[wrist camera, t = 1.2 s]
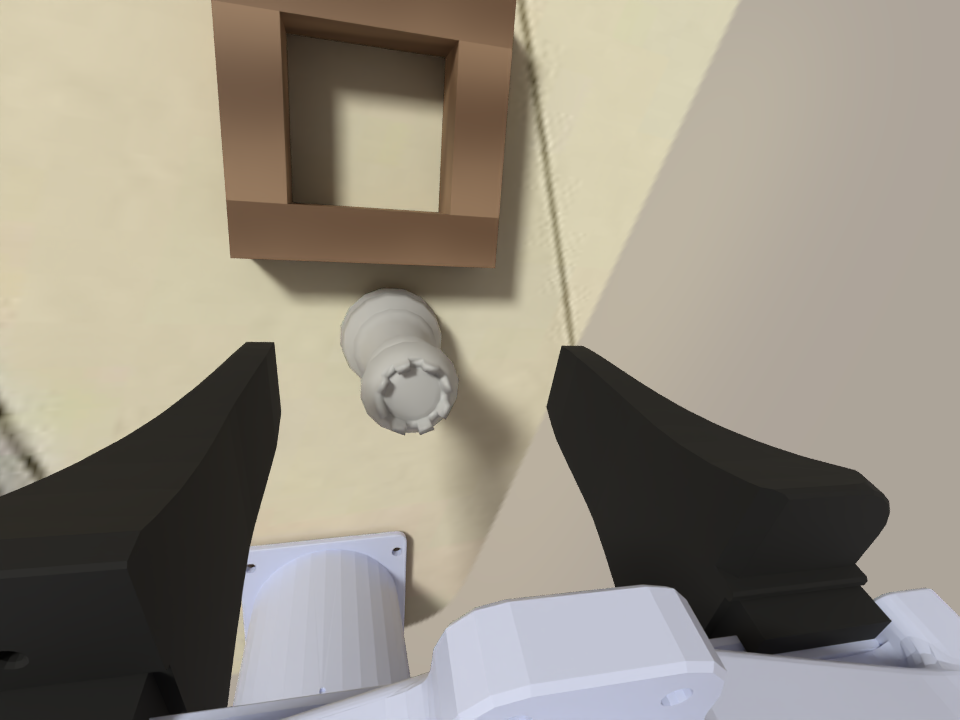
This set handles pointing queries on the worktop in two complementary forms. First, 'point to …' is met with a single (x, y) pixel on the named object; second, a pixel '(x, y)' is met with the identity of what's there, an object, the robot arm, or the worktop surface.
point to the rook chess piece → (399, 360)
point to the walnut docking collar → (266, 129)
